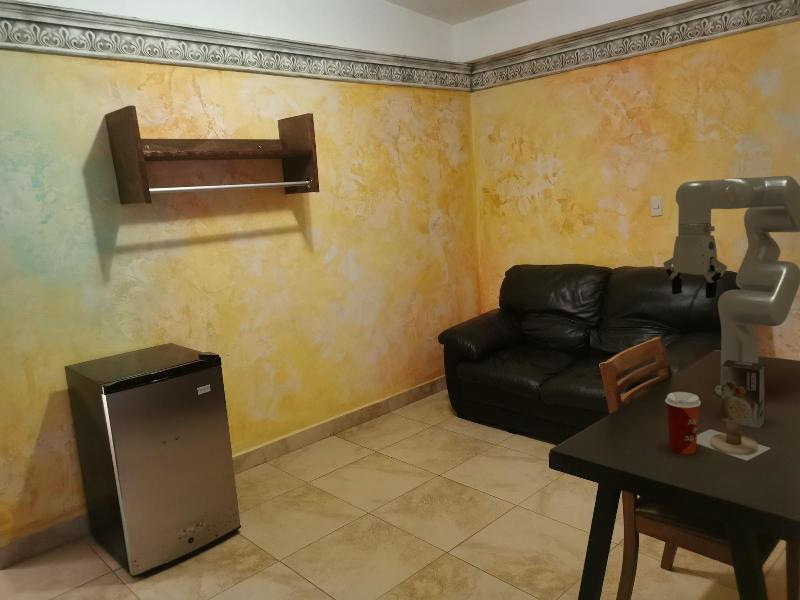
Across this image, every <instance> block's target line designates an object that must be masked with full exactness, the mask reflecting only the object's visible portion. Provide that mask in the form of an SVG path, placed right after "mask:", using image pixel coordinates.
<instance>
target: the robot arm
mask: <svg viewBox="0 0 800 600" xmlns="http://www.w3.org/2000/svg"><path fill="white" fill-rule="evenodd" d="M675 202H676V204H677V205H678V222H677V223H678V226H677V227H678V228H677V229H678V230H677V231H678V232H677V236H675V240H674V241H675V242H674V246H673V252H672V254H673V255H672V257H671V258H669V259H668V260H666V261H664V262H663V264H662V265H663V267H664V269H665V272H666V274H667V275H668V277H669V279H670V280H671V294H672V295H678V294H681V293H682V292H683V291H682V290H683V288H682V287H683V279H682V278H681V277H682V275H683V274H684V275H695V276H696V275H697V276H704V278H705V279H706V281H707V282H706V283H705V298H706V299H713V298H715V297H716V296H717V287H718V286H717V283H718V282H719V281H720V280H721V279H722V278H723V277H724V274H725V273H726V271H727V268H728V266H727V264H725V263H723V262H721V261H719V260H718V252H717V251H718V250H717V244H716V239H715V236H714V235H713V234H712V232H715V230H716V228H715V226H713V225H712V210H736V209H737V210H740V209H747V210H745V213H744V216H743V223H744V224H743V225H744V229H745V234H746V238H747V249H746V252H745V255H744V257H743V259H742V260H741V264H740V266H739V269H738V271H737V273H736V277H735V284H736V286H737V288H739V289H729V290H726V291H724V292H723V293H722V294H721V295H720V296H719V298H718V301H717V311H718V314H719V320H720V327H721V328H720V331H721V336H720V337H721V344H720V346H721V347H720V349H721V351H720V352H721V353H720V368H721V367H722V365H723V363H724V362H726V361H727V360H733V361H742V362H751V363H759V345H760V343H759V341H760V340H759V338H760V337H759V335H758V332H757V330H756V328H755V327H754V325H757V326H766V327H768V326H769V327H779V326H781V325H782V324H783V323H784V322H785V321H786V319H787V317H788V315H789V313H790V310H791V308H792V305H793V303H794V300H795V298H796V296H797V293H798V291H799V288H800V268H799V266H798V265H797V264H796V263H794V262H791V261H787V260H779V258H780V255H781V248H780V246H779V245H778V243H777V241H776V240H775V239H774V238H773V237H772V236H771V234H770V233H800V184H799V183H798V182H797V180H796V179H795V178H793V177H792V176H789V175H778V176H777V175H776V176H761V177H759V176H758V177H757V176H756V177H731V178H724V179H712V180H711V179H710V180H709V179H708V180H696V181H686V182H684V183H683V182H682V184H680V186H678V188H677V189H676V192H675ZM711 234H712V235H711ZM714 393H715V394H716V395H718V396H719V397H721V398H722V377H721V376H720V384H719V385H717V386H715V388H714Z"/></svg>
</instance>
